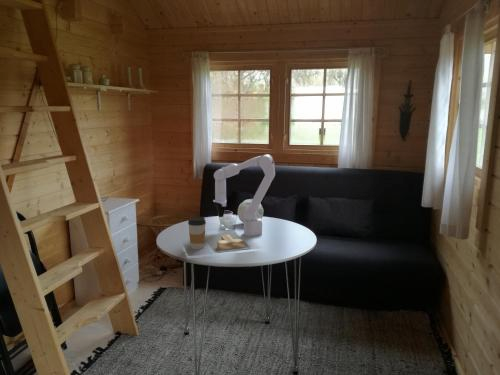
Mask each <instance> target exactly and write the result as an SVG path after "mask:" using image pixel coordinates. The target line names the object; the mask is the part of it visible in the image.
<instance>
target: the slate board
mask: <svg viewBox="0 0 500 375" xmlns="http://www.w3.org/2000/svg"><path fill="white" fill-rule="evenodd" d="M221 235H230V236H231V237H232V238H233V239H242V240H243V241H244V247H239V248H230V249H221V250H219V248H218V247H217V241H221ZM205 242H206V243H207V244H208V245H209V247H210V248H211V250H212V251H214V252H216V254H219V253H220V254H221V253H222V252H223V251H225V253H229V252H231V251H232V250H234V252H238V251H240V250H241V249H243V251H247V250H249V249H250V248H251V246H250V245H249V244H248V243H247V242H246V240H244V239H243V238H242V237H241V236H239V235H238V233H237V232H235V231H232V232H231V231H230V232H224V233H223V232H222V233H221V232H220V233H210V234H205ZM236 249H237V250H236ZM219 251H220V252H219Z"/></svg>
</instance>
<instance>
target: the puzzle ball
mask: <svg viewBox="0 0 500 375" xmlns="http://www.w3.org/2000/svg"><path fill="white" fill-rule="evenodd" d="M252 200H253V198H249V199H245V200H243V201H242V202H241V203H240V204H239V206H238V208H237V217H238V219H239V221H240V222H242V223H243V224H244V217H243V212H244V211H245V210H246V209H247V207H248V206H249V205H250V203H251V201H252ZM256 217H257V219H261V220H262V219H263V217H264V208H263V205H262V204H261V203H260V205H259V207H258V213H257V215H256Z"/></svg>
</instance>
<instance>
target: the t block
mask: <svg viewBox="0 0 500 375" xmlns="http://www.w3.org/2000/svg"><path fill="white" fill-rule="evenodd" d="M242 239H243V238H242ZM242 239H233V238H232V237H231V236H230V235H221V241H217V247H218V248H219V250H221V249H230V248H239V247H244V241H245V240H244V239H243V240H244V241H243V240H242Z"/></svg>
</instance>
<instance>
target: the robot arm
mask: <svg viewBox="0 0 500 375" xmlns="http://www.w3.org/2000/svg"><path fill="white" fill-rule="evenodd" d="M252 166H255V167H259V168H261V170H263V174H264V177H263V178H262V180H261V183H260V184H259V186H258V187H257V190H256V191H255V194H254V196H253V198H252V199H253V200H252V201H251V203H250V205H249V206H248V207H247V209H246V210H245V211H244V212H243V217H244V223H243V235H244V236H246V237H248V236H249V237H253V236H262V235H263V222H262V219H257V217H256V215H257V213H258V207H259V205H260V204H261V202H262V201H263V198H264V197H265V195H266V193H267V191H268V189H269V187H270V186H271V183H272V181H274V179H275V176H276V169H275V168H276V167H275V161H274V158H273V156H272V155H270V154H268V153H266V154H265V153H264V154H263V155H259V156H255V157H252V158H250V159H247V160H246V161H243V162H241V163H238V164H237V163H232V162H231V163H229V165H226V166H222V167H221V168H219V169H217V170H216V171H215V172H214V173H213V178H214V181H215V182H214V189H215V190H214V196H215V198H214V199H213V200H212V201H213V203H214V206H215V207H216V211H217V215H218V218H223V217H224V214H225V210H226V208H227V206H228V204H227V179H228V178H231V177H233V176H237V175H239V174H240V171H241V170H244V169H247V168H250V167H252Z"/></svg>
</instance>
